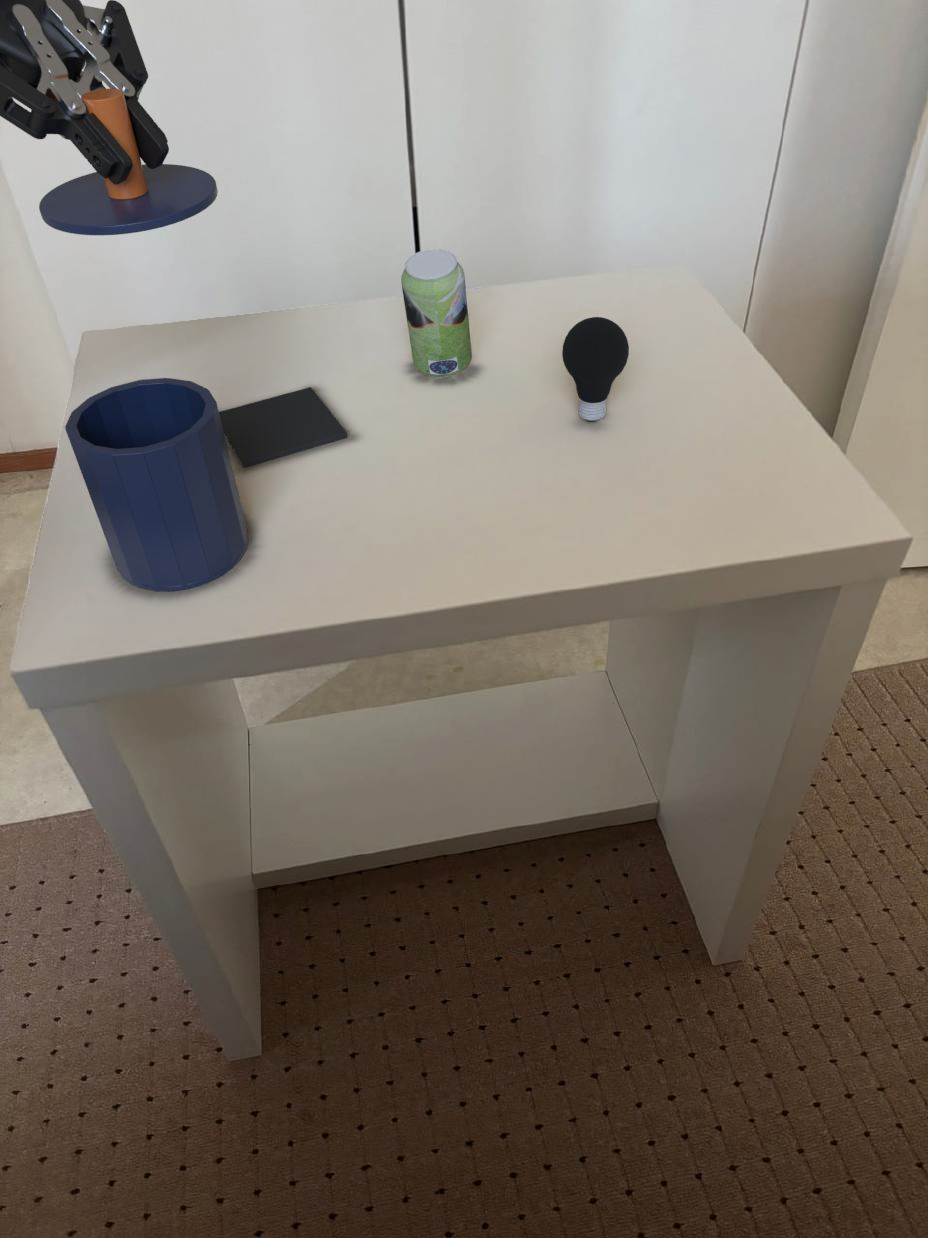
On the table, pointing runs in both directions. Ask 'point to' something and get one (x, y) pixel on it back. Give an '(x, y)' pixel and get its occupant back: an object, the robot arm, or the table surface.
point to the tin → (160, 482)
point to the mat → (280, 426)
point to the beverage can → (437, 313)
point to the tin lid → (126, 185)
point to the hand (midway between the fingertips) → (143, 165)
